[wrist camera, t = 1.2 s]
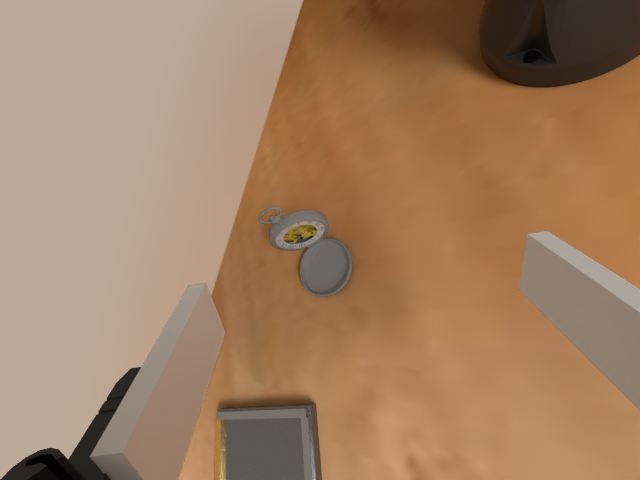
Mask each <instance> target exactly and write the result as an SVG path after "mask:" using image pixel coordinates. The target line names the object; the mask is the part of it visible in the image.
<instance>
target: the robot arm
mask: <svg viewBox="0 0 640 480" xmlns="http://www.w3.org/2000/svg"><path fill="white" fill-rule="evenodd" d="M480 42H481V50H482V55H483V58H484V60H485V62H486V63H487V65H488V66H489V67H490V69H491V70H492V71H493V72H495V73H496V74H497V75H499V76H500V77H502V78H504V79H506V80H509V81H511V82H514V83H518V84H522V85H528V86H558V85H565V84H571V83H576V82H580V81H584V80H587V79H591V78H594V77H597V76H599V75H602V74H604V73H607V72H609V71H612V70H614V69H616V68H618V67H620V66H622V65H624V64H625V63H627V62H629V61H631V60H632V59H634V58H635V57H637V56H638V55H640V0H485V4H484V8H483V11H482V15H481V19H480ZM519 291H520V292H521V293H522V294H523V295H524V296H525V297H526V298H527V299H528V300H529V301H530V302H531V303H532V304H533V305H534V306H535V307H536V308H537V309H538V310H539V311H540V312H541V313H542V314H543V315H544V316H545V317H546V318H547V319H548V320H549V321H550V322H551V323H552V324H553V325H554V326H555V327H556V328H557V329H558V330H559V331H560V332H561V333H562V334H563V335H564V336H565V337H566V338H567V339H568V340H569V341H570V342H571V343H572V344H573V345H574V346H575V347H576V348H577V349H578V350H579V351H580V352H582V353H583V354H584V355H585V356H586V357H587V358H588V359H589V360H590V361H591V362H592V363H593V364H594V365H595V366H596V367H597V368H598V369H599V370H600V371H601V372H602V373H603V374H604V375H605V376H606V377H607V378H608V379H609V380H610V381H611V382H612V383H613V384H614V385H615V386H616V387H617V388H618V389H619V390H620V391H621V392H622V393H623V394H624V395H625V396H626V397H627V398H628V399H629V400H630V401H631V402H632V403H633V404H634V405H635V406H636V407H637V408H638V409H639V410H640V289H638V288H637V287H635V286H634V285H632V284H630V283H629V282H627V281H626V280H624V279H623V278H621V277H619V276H618V275H616V274H615V273H613V272H611V271H610V270H608V269H607V268H605V267H604V266H602V265H600V264H599V263H597V262H596V261H594V260H592V259H591V258H589V257H588V256H586V255H584V254H583V253H581V252H580V251H578V250H577V249H575V248H573V247H572V246H570V245H569V244H567V243H565V242H564V241H562V240H561V239H559V238H558V237H556V236H554V235H553V234H551V233H550V232H548V231H544V232H538V233H531V234H528V236H527V242H526V248H525V254H524V260H523V266H522V272H521V278H520V284H519ZM224 336H225V330H224V328H223V325H222V323H221V320H220V317H219V315H218V312H217V310H216V307H215V305H214V302H213V299H212V297H211V294H210V292H209V289H208V287H207V284H206V283H203V284H197V285H190V286H188V287H187V289H186V290H185V292H184V294H183V296H182V298H181V299H180V301H179V303H178V304H177V306H176V308H175V309H174V311H173V313H172V315H171V317H170V318H169V320H168V322H167V324H166V325H165V327H164V329H163V330H162V332H161V334H160V336H159V337H158V339H157V341H156V342H155V344H154V346H153V348H152V349H151V351H150V353H149V355H148V356H147V358H146V360H145V362H144V363H143V365H142V367H138V368H131V369H130V370H129V371H128V372H127V373H126V374H125V375H124V376H123V377H122V378H121V379H120V380H119V381H118V382H117V383H116V384H115V386H114V388H113V389H112V391H111V392H110V394H109V396H108V397H107V401H105V402H104V404H103V405H102V407H101V409H100V410H99V414H98V415H96V417H95V418H94V420H93V421H92V423H91V424H90V426H89V428H88V429H87V431H86V432H85V434H84V435H83V437H82V439H81V440H80V442H79V443H78V445H77V447H76V448H75V450H74V452H73V453H72V455H71V456H70V458H69V459H67V458H66V457H65V456H64V455H63V454H62V453H61V452H60V450H58V449H54V448H48V449H44V450H40V451H37V452H36V453H34V454H32V455H30V456H28V457H26V458H25V459H23V460H22V461H21V462H19V463H18V464H17V465H15V466H14V467H13V468H11V469H10V471H9V472H7V474H6V475H5V476H4V477H3V478H2V479H1V480H178V479H179V476H180V473H181V470H182V466H183V463H184V460H185V457H186V454H187V451H188V448H189V445H190V442H191V438H192V435H193V432H194V429H195V426H196V423H197V420H198V417H199V414H200V410H201V407H202V404H203V401H204V398H205V395H206V392H207V389H208V386H209V382H210V379H211V376H212V373H213V370H214V367H215V364H216V361H217V358H218V354H219V351H220V348H221V345H222V342H223V339H224Z"/></svg>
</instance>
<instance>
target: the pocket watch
mask: <svg viewBox="0 0 640 480" xmlns="http://www.w3.org/2000/svg"><path fill="white" fill-rule="evenodd" d="M272 209H277V210H279V212H280V214H279V215H275V216H273V215H272V216H270V221H268V222H264V221H262V216H263V214H264V213H265V212H267V211H269V210H272ZM281 215H282V209H281V208H279V207H271V208H268V209H266V210H265V211H263V212H262V213H261V215H260V216H259V221H260V222H261V223H263V224H269V223H271V224H274V225H273V226H272V227H271V229H270V232H269V240H270V243H271V245H272V246H273V247H275V248H277V249H280V250H287V251H291V250H299V249H303V248H306V247H309V248H308V249H307V250H306V252H305V253H304V255H303V257H302V259H301V263H300V278H301V282H302V284H303V286H304V287H305V288H306V290H307V291H309V292H310V293H311V294H314V295H316V296H322V297H327V296H331V295H334V294H336V293H337V292H339V291H340V290H342V288H343V287H344V286H345V285H346V284H347V282H348V280H349V278H350V276H351V272H352V264H353V263H352V257H351V254H350V252H349V250H348V248H347V247H346V246H345V245H344V244H343V243H342V242H340V241H338V240H335V239H331V238H326V239H324V238H323V237H324V236H325V235H326V234H327V232H328V230H329V222H328V220H327V218H326V217H325V216H324V215H323V214H322V213H320V212H318V211H313V210H304V211H298V212H294V213H291V214H288V215H286V216H284V217H282V218H281ZM301 225H303V228H302V226H301ZM309 225H312V226H310V227H312V229H309V228H310V227H308V226H309ZM300 226H301V227H300ZM308 229H309V230H308ZM307 231H308V232H307Z"/></svg>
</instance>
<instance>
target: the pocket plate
mask: <svg viewBox="0 0 640 480" xmlns="http://www.w3.org/2000/svg"><path fill="white" fill-rule="evenodd" d="M214 480H322V476H321V463H320V451H319V439H318V426H317V414H316V404H307V405H286V406H264V407H243V408H223V409H218V410H217V420H216V433H215V471H214Z"/></svg>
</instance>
